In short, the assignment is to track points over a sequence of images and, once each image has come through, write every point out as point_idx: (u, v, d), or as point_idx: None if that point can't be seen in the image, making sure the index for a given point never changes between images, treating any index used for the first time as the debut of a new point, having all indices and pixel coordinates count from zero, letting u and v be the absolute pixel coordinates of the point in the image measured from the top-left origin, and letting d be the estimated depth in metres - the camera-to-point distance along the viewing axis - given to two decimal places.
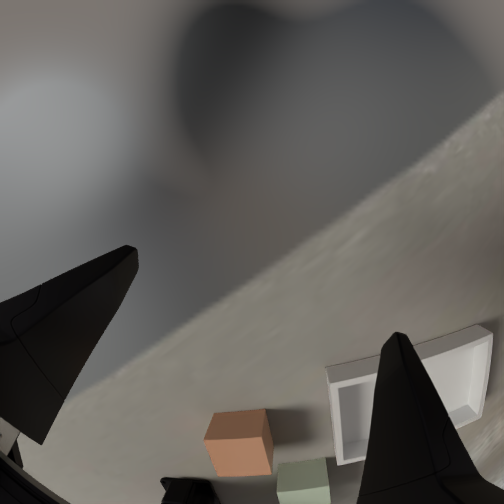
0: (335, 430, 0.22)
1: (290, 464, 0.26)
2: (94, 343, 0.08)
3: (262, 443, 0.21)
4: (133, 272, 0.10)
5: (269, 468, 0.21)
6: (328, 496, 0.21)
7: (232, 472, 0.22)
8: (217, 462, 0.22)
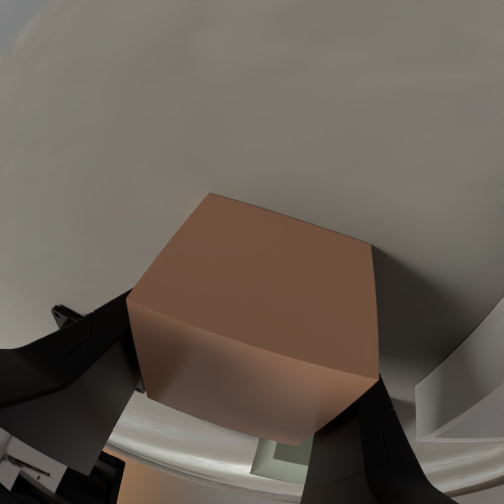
0: (494, 388, 0.07)
1: None
2: None
3: (356, 395, 0.05)
4: None
5: (303, 437, 0.08)
6: None
7: (191, 409, 0.08)
8: (156, 376, 0.07)
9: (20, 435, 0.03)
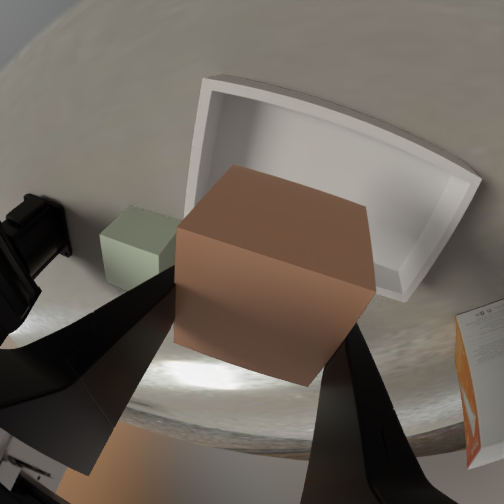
0: (191, 165, 0.17)
1: (141, 210, 0.23)
2: (145, 368, 0.08)
3: (359, 311, 0.07)
4: None
5: (314, 374, 0.09)
6: None
7: (215, 348, 0.10)
8: (188, 311, 0.09)
9: (20, 435, 0.03)
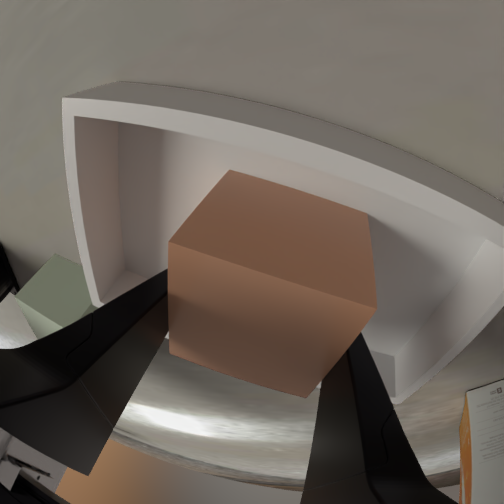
0: (76, 226, 0.10)
1: (65, 262, 0.17)
2: (145, 368, 0.08)
3: (359, 328, 0.07)
4: None
5: (313, 386, 0.09)
6: None
7: (211, 360, 0.09)
8: (183, 324, 0.09)
9: (20, 435, 0.03)
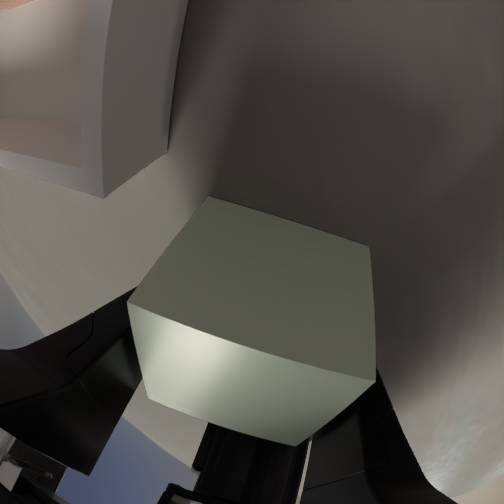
0: None
1: None
2: None
3: None
4: None
5: None
6: (220, 342, 0.05)
7: None
8: None
9: (21, 436, 0.03)
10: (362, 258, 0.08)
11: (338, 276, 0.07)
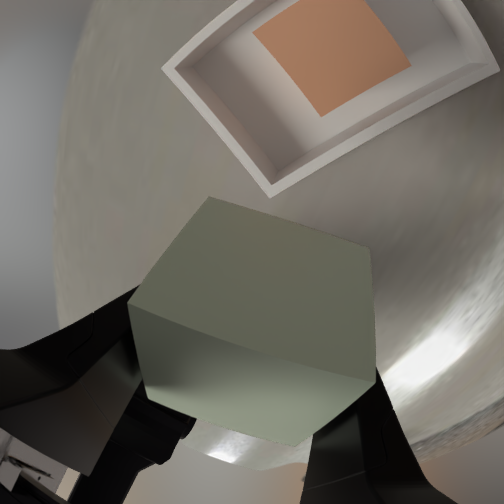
0: (218, 132, 0.16)
1: None
2: None
3: None
4: None
5: (400, 50, 0.09)
6: (220, 343, 0.05)
7: (341, 89, 0.11)
8: (301, 74, 0.11)
9: (21, 436, 0.03)
10: (362, 259, 0.08)
11: (338, 276, 0.07)
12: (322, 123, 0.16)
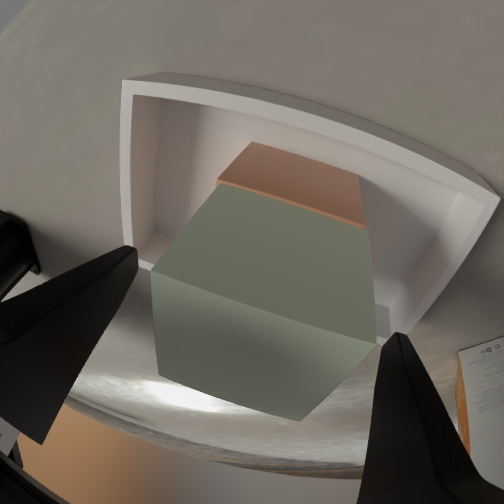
0: (122, 186, 0.13)
1: None
2: (94, 343, 0.08)
3: None
4: (133, 272, 0.10)
5: None
6: (236, 306, 0.06)
7: None
8: None
9: None
10: (361, 240, 0.09)
11: (340, 253, 0.08)
12: None
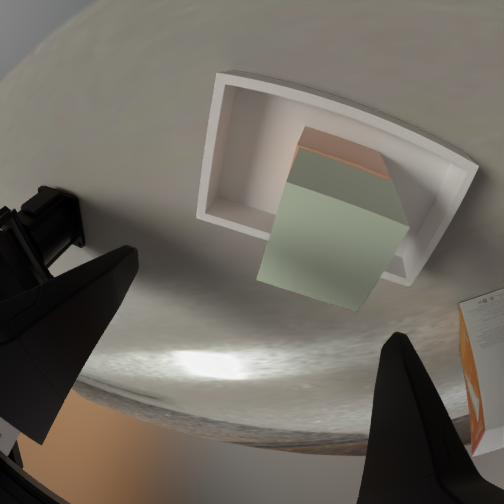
0: (205, 154, 0.18)
1: None
2: (94, 343, 0.08)
3: None
4: (133, 272, 0.10)
5: None
6: (335, 202, 0.11)
7: None
8: None
9: None
10: (390, 184, 0.13)
11: (380, 188, 0.12)
12: (273, 200, 0.21)
